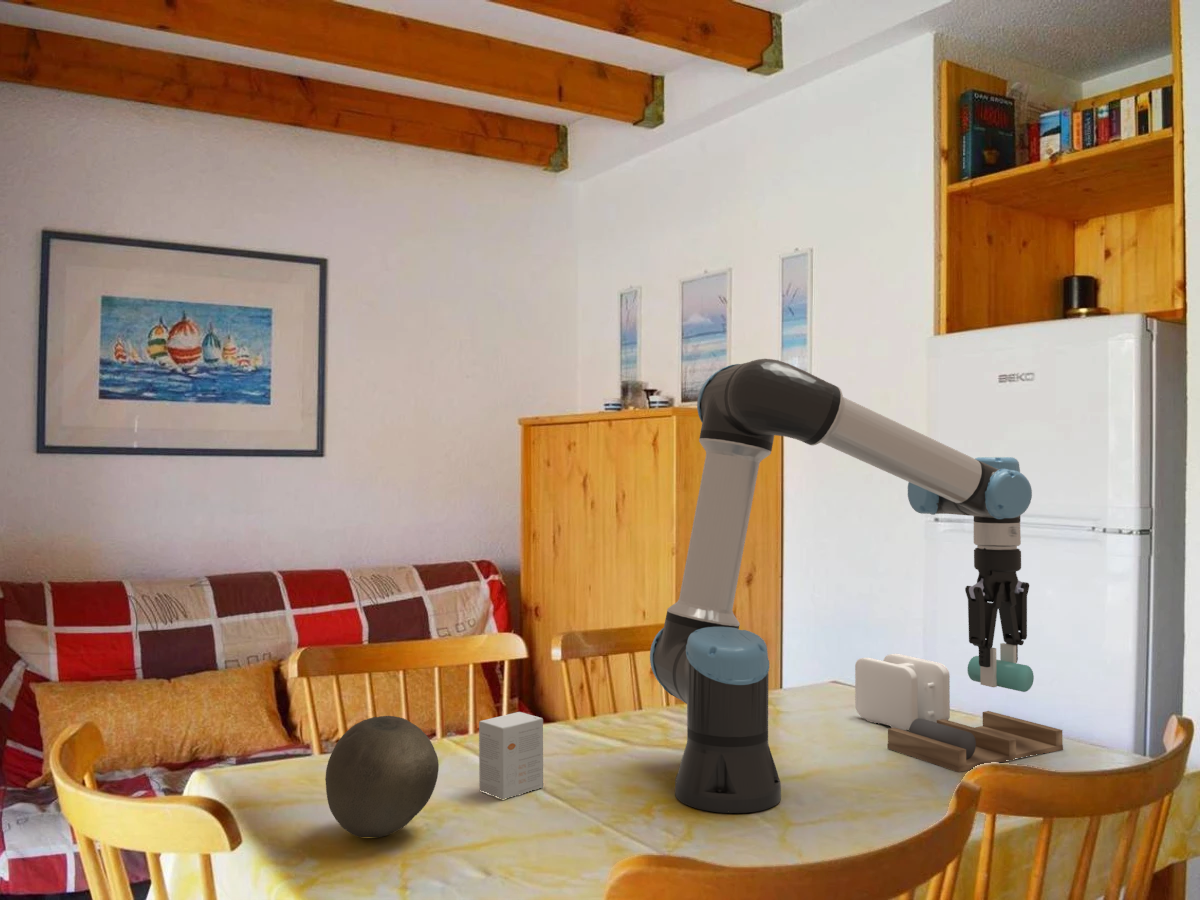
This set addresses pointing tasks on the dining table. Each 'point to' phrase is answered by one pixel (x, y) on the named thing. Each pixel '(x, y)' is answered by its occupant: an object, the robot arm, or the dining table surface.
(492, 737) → the small box
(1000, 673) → the teal rod
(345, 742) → the dark grey rounded lump
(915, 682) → the cable organizer
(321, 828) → the dining table surface
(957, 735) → the black rod
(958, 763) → the slot board
